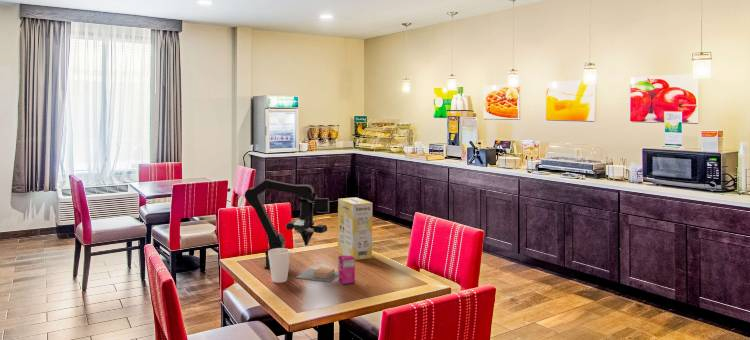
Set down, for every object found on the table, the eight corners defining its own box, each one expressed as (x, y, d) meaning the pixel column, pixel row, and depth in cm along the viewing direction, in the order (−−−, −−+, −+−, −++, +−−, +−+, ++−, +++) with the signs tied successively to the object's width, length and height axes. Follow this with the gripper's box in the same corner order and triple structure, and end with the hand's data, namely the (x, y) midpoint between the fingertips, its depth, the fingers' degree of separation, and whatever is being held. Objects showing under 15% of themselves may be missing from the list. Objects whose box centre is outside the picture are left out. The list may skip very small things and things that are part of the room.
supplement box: (337, 281, 231) (337, 255, 230) (350, 279, 233) (350, 254, 232) (342, 285, 225) (342, 258, 224) (355, 283, 228) (355, 257, 227)
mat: (295, 278, 234) (295, 277, 234) (309, 269, 247) (309, 268, 247) (329, 282, 229) (329, 281, 229) (341, 273, 242) (341, 272, 242)
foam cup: (294, 278, 234) (294, 249, 232) (284, 284, 225) (283, 254, 224) (275, 276, 237) (275, 247, 235) (264, 282, 228) (263, 252, 227)
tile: (313, 271, 235) (327, 273, 232) (321, 266, 242) (334, 268, 240) (313, 277, 235) (327, 278, 233) (321, 272, 242) (334, 273, 240)
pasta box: (371, 257, 269) (372, 202, 266) (352, 260, 264) (353, 204, 261) (355, 249, 285) (356, 197, 282) (337, 251, 280) (338, 198, 277)
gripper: (279, 213, 242) (279, 247, 244) (316, 217, 235) (316, 251, 237) (292, 209, 252) (292, 241, 254) (327, 212, 246) (327, 246, 247)
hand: (306, 245), depth 248 cm, fingers closed
